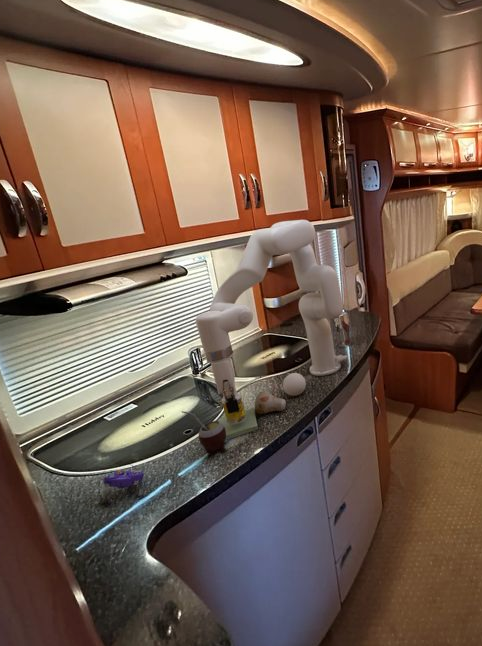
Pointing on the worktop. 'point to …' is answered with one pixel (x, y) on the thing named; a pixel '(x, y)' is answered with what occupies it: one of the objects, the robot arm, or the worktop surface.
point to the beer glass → (343, 329)
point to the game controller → (122, 479)
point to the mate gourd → (211, 435)
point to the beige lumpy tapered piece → (268, 403)
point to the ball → (294, 384)
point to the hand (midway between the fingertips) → (233, 406)
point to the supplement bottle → (236, 416)
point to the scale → (240, 425)
